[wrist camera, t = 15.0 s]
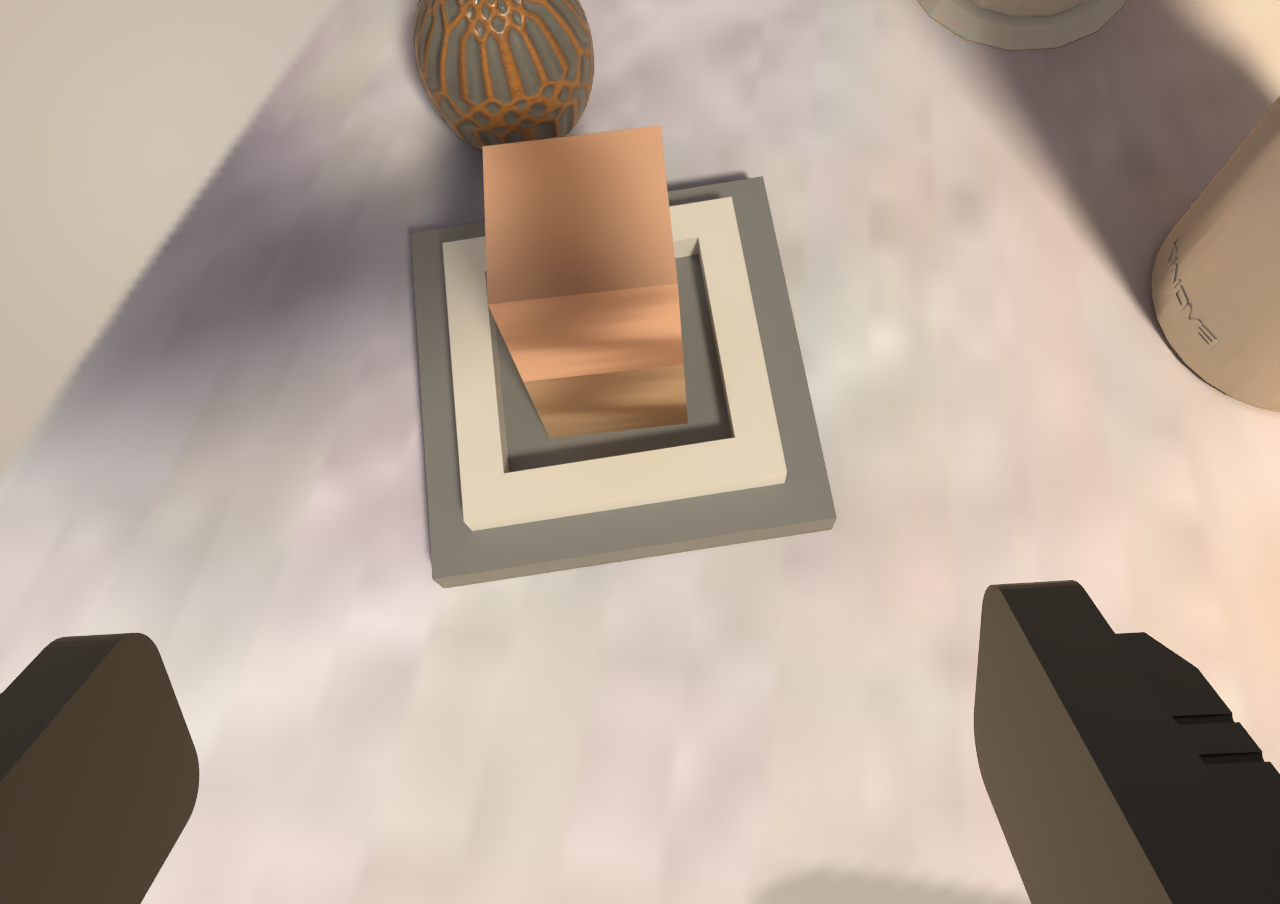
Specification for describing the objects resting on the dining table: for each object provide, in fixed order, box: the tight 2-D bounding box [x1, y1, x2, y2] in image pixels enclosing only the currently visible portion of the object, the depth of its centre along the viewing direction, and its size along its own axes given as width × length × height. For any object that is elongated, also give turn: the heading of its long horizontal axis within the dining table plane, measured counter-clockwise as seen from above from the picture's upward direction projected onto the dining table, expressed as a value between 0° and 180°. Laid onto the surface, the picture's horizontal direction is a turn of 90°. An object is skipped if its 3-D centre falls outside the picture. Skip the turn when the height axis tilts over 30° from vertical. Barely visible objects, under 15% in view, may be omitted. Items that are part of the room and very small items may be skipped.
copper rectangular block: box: [482, 126, 688, 438], centre depth 31 cm, size 5×5×10 cm
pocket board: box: [411, 176, 836, 588], centre depth 36 cm, size 14×14×3 cm
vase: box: [414, 0, 594, 150], centre depth 37 cm, size 7×7×9 cm
